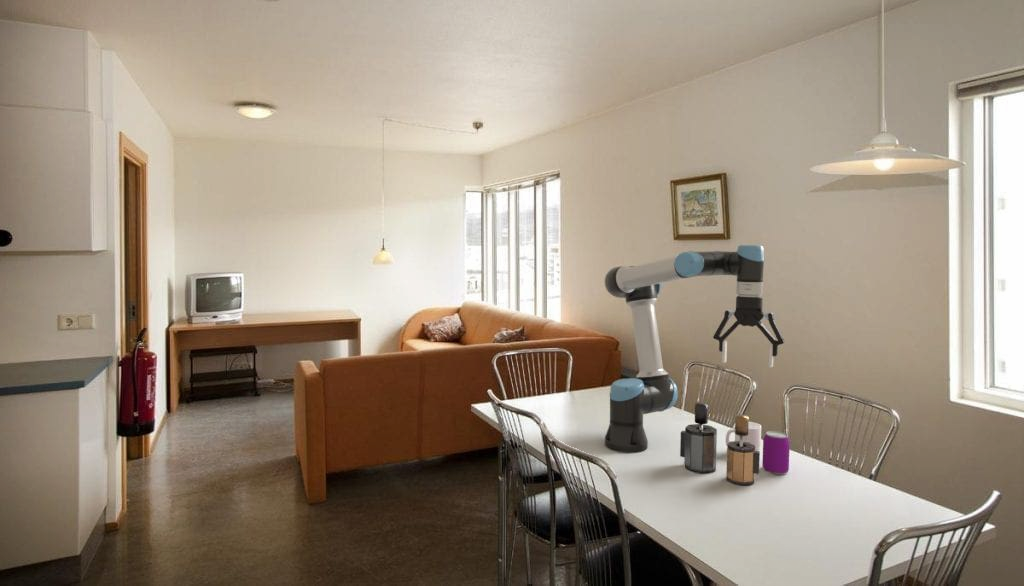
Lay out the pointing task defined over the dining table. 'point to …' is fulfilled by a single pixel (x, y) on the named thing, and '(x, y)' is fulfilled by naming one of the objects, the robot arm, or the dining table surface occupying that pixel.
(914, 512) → the dining table surface
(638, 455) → the dining table surface
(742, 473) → the carafe
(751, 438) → the cup
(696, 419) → the plunger
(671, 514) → the dining table surface
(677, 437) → the dining table surface
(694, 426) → the carafe
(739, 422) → the plunger
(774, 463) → the beverage can
